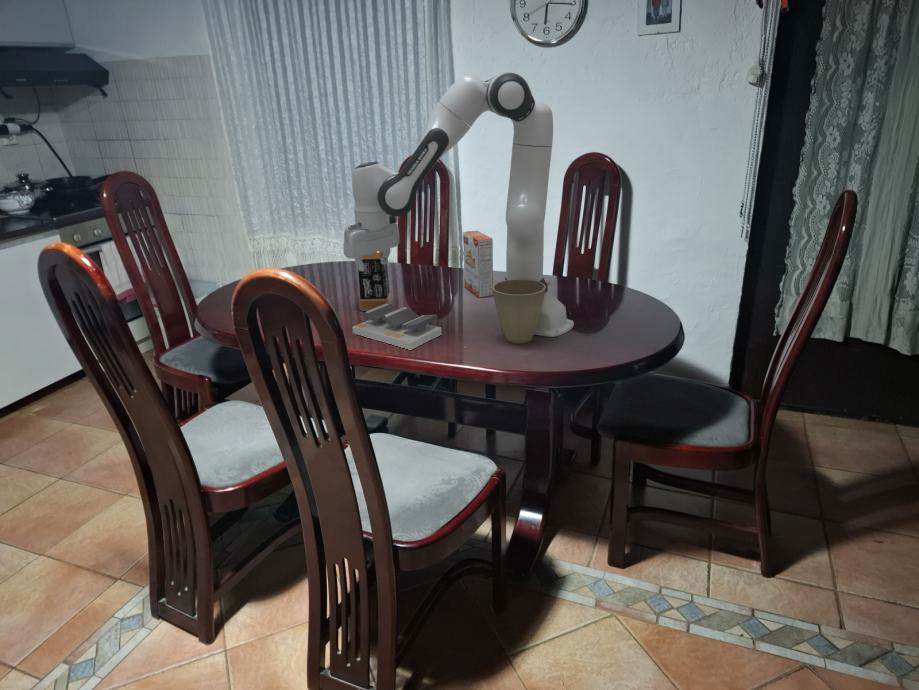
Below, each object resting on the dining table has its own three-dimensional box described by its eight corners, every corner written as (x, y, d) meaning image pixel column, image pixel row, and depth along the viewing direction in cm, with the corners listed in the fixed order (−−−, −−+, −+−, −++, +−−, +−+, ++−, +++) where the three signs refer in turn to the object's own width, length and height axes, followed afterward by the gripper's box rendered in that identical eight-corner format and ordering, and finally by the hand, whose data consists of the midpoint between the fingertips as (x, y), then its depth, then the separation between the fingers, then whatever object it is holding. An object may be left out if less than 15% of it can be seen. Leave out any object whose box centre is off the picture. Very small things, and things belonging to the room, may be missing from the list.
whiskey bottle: (389, 311, 206) (381, 214, 194) (359, 312, 206) (350, 215, 194) (391, 301, 216) (385, 208, 204) (363, 302, 216) (355, 209, 204)
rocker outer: (399, 313, 192) (400, 309, 191) (377, 323, 185) (377, 318, 184) (386, 307, 195) (386, 302, 194) (363, 316, 187) (364, 311, 187)
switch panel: (441, 335, 184) (441, 323, 183) (410, 350, 174) (410, 338, 173) (384, 321, 197) (384, 310, 196) (353, 334, 187) (351, 323, 186)
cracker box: (463, 287, 228) (462, 231, 220) (478, 285, 230) (477, 229, 222) (477, 298, 216) (476, 239, 208) (493, 296, 218) (493, 237, 210)
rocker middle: (417, 319, 188) (418, 315, 187) (395, 329, 181) (396, 325, 180) (404, 309, 190) (405, 305, 190) (381, 319, 183) (382, 315, 182)
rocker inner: (438, 319, 183) (437, 314, 183) (416, 329, 176) (415, 324, 175) (423, 319, 187) (422, 314, 186) (401, 329, 179) (400, 324, 179)
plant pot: (501, 327, 189) (501, 277, 183) (549, 333, 184) (551, 281, 178) (485, 345, 176) (485, 291, 170) (536, 351, 171) (537, 296, 165)
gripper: (352, 228, 170) (356, 276, 176) (401, 216, 185) (404, 261, 191) (336, 225, 174) (340, 273, 179) (386, 214, 189) (388, 258, 194)
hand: (373, 267), depth 185 cm, fingers open, 8 cm apart
